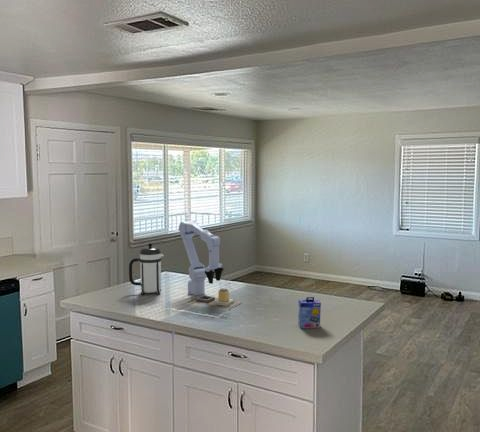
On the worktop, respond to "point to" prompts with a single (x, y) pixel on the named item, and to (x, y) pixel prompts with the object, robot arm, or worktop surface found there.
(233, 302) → the pale green square frame
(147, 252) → the coffee press
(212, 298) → the grey square frame
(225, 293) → the plug
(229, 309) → the switch board
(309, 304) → the ink cartridge box
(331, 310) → the worktop surface
